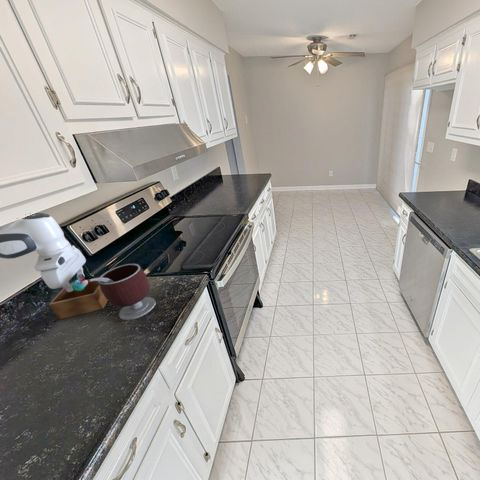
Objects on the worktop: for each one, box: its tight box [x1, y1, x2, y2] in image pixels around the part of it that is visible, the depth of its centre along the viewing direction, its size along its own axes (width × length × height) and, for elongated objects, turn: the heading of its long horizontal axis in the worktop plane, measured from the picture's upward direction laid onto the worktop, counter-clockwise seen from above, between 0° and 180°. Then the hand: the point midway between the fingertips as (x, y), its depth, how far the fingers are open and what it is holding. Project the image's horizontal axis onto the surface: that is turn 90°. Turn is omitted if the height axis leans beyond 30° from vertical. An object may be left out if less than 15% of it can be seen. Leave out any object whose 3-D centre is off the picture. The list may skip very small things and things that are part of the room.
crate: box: [48, 278, 109, 320], centre depth 104 cm, size 15×14×8 cm
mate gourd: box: [88, 263, 157, 321], centre depth 95 cm, size 16×14×20 cm
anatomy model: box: [62, 277, 88, 291], centre depth 101 cm, size 5×8×7 cm
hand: (76, 284), depth 101 cm, fingers closed on anatomy model, 7 cm apart
